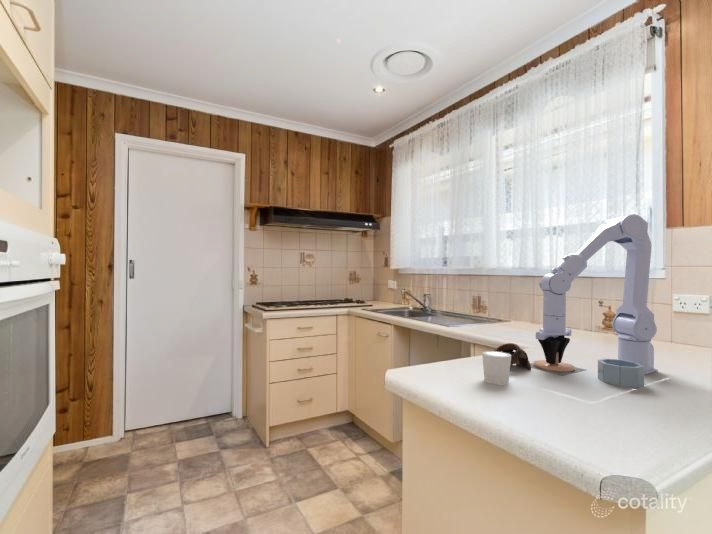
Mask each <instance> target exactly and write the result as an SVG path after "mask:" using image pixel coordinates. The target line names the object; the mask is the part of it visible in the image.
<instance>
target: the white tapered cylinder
mask: <svg viewBox="0 0 712 534" xmlns="http://www.w3.org/2000/svg"><path fill="white" fill-rule="evenodd" d="M481 355H482V365H483V366H482V367H483V368H482V369H483V378H484V380H483V381H484V382H486V383H488V384H491V383H492V385H496V384H505V385H508V384H509V380H510V379H509V378H510V372H511V365H510V363H511V354H508V353H505V352H502V351H501V352H499V351H495V350H486V351H483V352H481ZM507 383H508V384H507Z"/></svg>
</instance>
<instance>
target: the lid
mask: <svg viewBox="0 0 712 534" xmlns="http://www.w3.org/2000/svg"><path fill="white" fill-rule="evenodd" d="M558 359H559V352H557V354H556V362H555V364H550V363H547V362H546V359H542V360H541V359H538V360H535V361H533V363H534V364H533V365H534V366H535V367H536V368H539V369H542V370H547V371H552V372H573V371H575V367H576V366H574V365H573V364H572V363H571V364H570V363H567V362H564V361H561V363H558ZM542 370H541V371H542Z"/></svg>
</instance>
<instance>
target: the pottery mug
mask: <svg viewBox="0 0 712 534" xmlns="http://www.w3.org/2000/svg"><path fill="white" fill-rule="evenodd" d="M494 351H499V352H505V353H508V354H511V363H510V366H513V365H516V366H520V367H525V368H527V369H529V371H531V370H532V368H531V364H530V363H531V362H530V360H529V356H528V354H527V352H526V351H525V350H524V349H523V348H520V346H519V345H518V344H516V343H512V342H508V343H504V344H500V345H499V346H497V347H496V348H495V349H494Z"/></svg>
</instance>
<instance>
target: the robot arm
mask: <svg viewBox="0 0 712 534" xmlns="http://www.w3.org/2000/svg"><path fill="white" fill-rule="evenodd" d="M648 227H649V223H648V221H646V220H645V219H644V218H643V217H642V216H640V215H639V214H635V213H632V214H631V213H630V214H629V215H626V216H619V217H615V218H609V219H607V220H605V221H604V222H603V223H602V224H600V225H599V226H598V227H597V229H596V231H595V232H594V233H593V234H592V235H591V236H590V238H589V239H588V240H587V241H586V242H585V243H584V244H583V245H582V246H581V248H579V250H578V251H577V252H576V253H569V254H567V255H566V254H565V255H564V256H563V257H562V260H561V262H560V263H559V264H558V265H556V267H552V269H551V270H550V271H551V273H547V274H545V275H543V276H542V278H541V280H540V282H539V283H538V284H539V288H540V289H541V292H542V293H543V294H542V295H543V298H542V301H543V304H542V311H543V312H542V328H539V331H536V332H535V339H536V340H537V341H538V342H539V344H540V346H541V348H542V351H543V355H544V358H545V360H546V362H547V363H550V364H555V362H556V354H557V352H559V359H558V363H561V362H562V359H563V357H564V354H565V350H566V348H567V347H568V344H569V343H570V342H571V339H570V337H572V329H570V328H566V327H567V326H566V324H567V321H566V319H567V313H566V312H567V307H566V305H567V298H566V297H567V296H566V295H567V292H569V291H570V290H571V286H572V282H574V281H575V280H576V278H577V277H578V276H579V275H580V274H582V273H583V272H584V271H585V270H586V269H587V267H588V260H590V258H592V257H593V256H594V255H595V254H596V253H597V252H599V250H601V249H602V248H603V247H605V245H606V244H607V243H611V242H614V243H616V244H618V245H619V246H621V247H622V248H624V249H625V251H626V259H625V273H624V283H623V285H624V286H623V297H622V304H620V306H618V308H617V309H616V311H615V312H616V313H615V316H614V318H613V319H612V322H611V326H612V329H613V331H614V332H615V333H616V337H617V359H620V360H626V361H631V362H636V363H639V364H641V365H643V366H644V375H647V374H650V373H655V372H658V370H659V369H657V368H654V367H655V348H654V345H653V344H652V339H653V338H654V337H655V336H656V334H657V330H658V329H657V324H656V322H655V314H654V313H653V311H651V309H650V308H649V307H648V296H649V283H650V282H649V281H650V269H651V257H652V240H651V238H650V235H649V233H648V229H649V228H648Z"/></svg>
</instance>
